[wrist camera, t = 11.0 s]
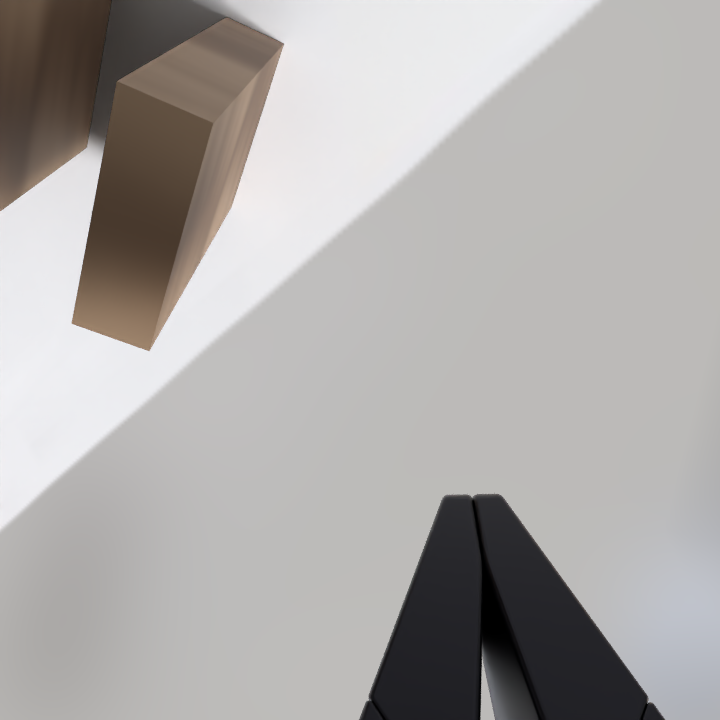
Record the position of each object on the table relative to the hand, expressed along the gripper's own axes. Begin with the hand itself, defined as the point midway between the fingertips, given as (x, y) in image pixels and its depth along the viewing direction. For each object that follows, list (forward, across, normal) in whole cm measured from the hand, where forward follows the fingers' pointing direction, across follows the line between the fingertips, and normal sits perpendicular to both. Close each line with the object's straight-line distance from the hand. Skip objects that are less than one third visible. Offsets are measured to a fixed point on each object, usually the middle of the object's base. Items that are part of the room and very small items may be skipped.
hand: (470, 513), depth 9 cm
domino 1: (+12, +6, -3) cm, 14 cm away
